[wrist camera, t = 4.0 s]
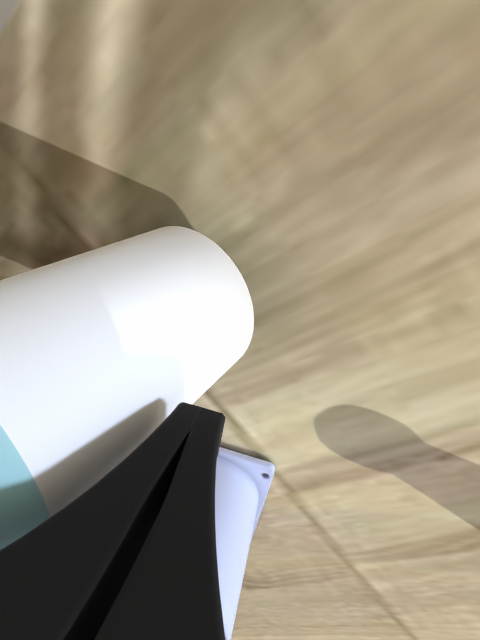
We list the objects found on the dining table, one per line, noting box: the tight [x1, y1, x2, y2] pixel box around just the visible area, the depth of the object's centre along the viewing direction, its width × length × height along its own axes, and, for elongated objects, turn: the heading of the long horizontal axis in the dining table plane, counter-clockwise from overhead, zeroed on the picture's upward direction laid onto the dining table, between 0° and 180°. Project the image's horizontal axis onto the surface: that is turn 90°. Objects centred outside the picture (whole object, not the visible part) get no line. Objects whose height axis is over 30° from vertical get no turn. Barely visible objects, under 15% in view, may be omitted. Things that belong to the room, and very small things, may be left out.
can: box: [0, 226, 254, 550], centre depth 13 cm, size 7×7×12 cm
